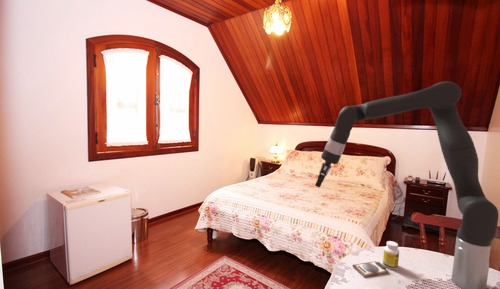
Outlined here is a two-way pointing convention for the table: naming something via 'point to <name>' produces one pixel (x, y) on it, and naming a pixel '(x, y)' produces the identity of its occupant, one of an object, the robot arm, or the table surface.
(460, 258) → the robot arm
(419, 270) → the table surface
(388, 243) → the supplement bottle
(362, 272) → the beige flat piece
